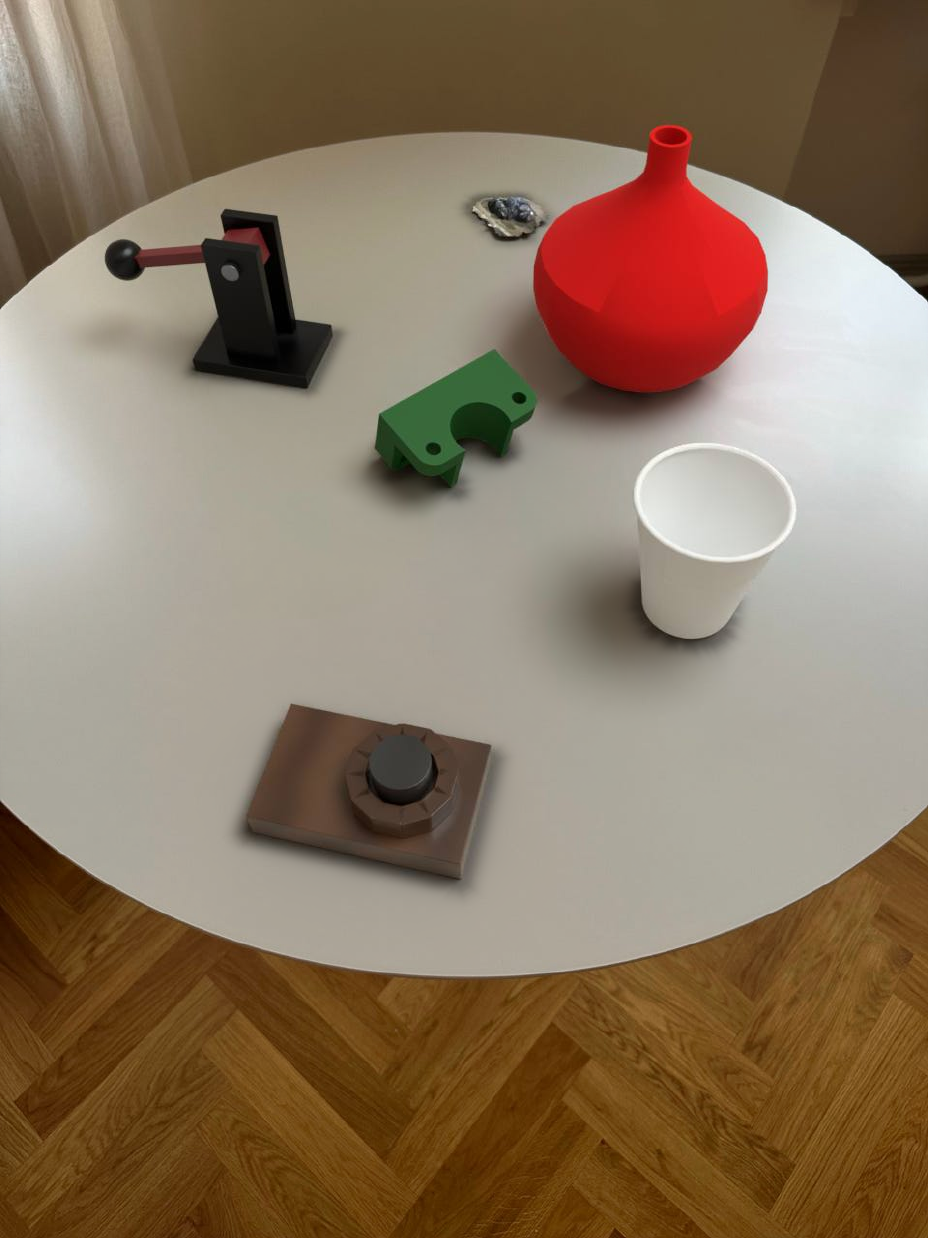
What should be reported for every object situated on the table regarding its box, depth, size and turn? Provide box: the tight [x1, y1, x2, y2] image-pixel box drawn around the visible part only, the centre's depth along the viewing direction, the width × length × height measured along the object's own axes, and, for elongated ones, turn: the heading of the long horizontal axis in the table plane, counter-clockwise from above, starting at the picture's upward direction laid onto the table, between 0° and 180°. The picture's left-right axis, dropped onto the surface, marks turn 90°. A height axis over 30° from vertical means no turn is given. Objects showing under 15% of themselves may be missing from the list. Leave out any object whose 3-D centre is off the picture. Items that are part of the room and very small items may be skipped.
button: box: [369, 734, 433, 803], centre depth 60 cm, size 4×4×2 cm
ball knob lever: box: [104, 228, 270, 282], centre depth 83 cm, size 14×3×3 cm, turn 76°
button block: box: [246, 703, 492, 880], centre depth 62 cm, size 13×8×4 cm, turn 76°
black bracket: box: [192, 208, 334, 389], centre depth 84 cm, size 10×7×12 cm
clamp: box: [374, 348, 538, 488], centre depth 79 cm, size 12×6×9 cm, turn 124°
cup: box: [632, 442, 797, 640], centre depth 68 cm, size 10×10×11 cm
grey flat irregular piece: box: [471, 196, 551, 238], centre depth 99 cm, size 7×8×2 cm
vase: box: [532, 124, 769, 394], centre depth 81 cm, size 18×18×19 cm
